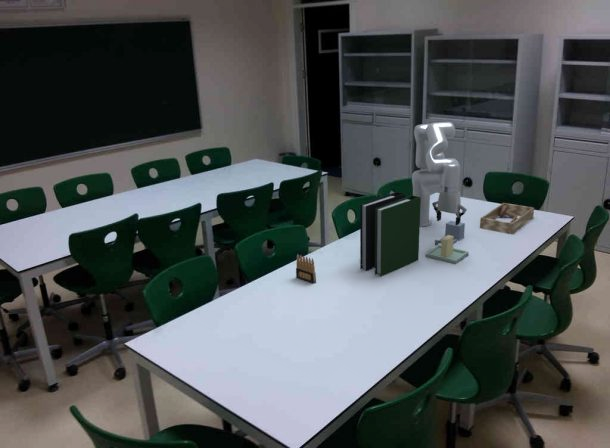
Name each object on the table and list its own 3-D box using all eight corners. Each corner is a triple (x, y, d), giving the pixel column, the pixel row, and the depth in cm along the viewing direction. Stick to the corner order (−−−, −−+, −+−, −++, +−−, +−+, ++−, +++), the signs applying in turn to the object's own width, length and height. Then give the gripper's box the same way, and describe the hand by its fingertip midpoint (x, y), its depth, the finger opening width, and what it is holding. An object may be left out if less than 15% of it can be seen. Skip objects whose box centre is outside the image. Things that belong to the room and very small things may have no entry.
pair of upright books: (382, 277, 244) (383, 210, 234) (358, 268, 255) (357, 204, 244) (418, 260, 261) (420, 197, 251) (394, 252, 272) (395, 191, 261)
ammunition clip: (316, 282, 242) (315, 258, 238) (313, 284, 240) (312, 259, 236) (298, 276, 248) (297, 252, 245) (296, 277, 247) (294, 253, 243)
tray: (425, 256, 265) (425, 253, 264) (438, 248, 275) (438, 244, 274) (455, 264, 255) (456, 260, 254) (468, 254, 265) (468, 251, 264)
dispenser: (434, 244, 279) (434, 230, 277) (450, 234, 293) (450, 220, 290) (448, 247, 274) (449, 233, 272) (463, 237, 288) (464, 223, 285)
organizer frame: (479, 228, 300) (480, 217, 298) (502, 212, 325) (503, 202, 323) (512, 234, 289) (513, 223, 287) (533, 217, 314) (534, 207, 312)
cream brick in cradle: (440, 256, 263) (441, 239, 260) (447, 251, 268) (448, 234, 265) (446, 257, 261) (447, 240, 258) (452, 253, 266) (453, 236, 263)
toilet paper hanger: (504, 235, 298) (509, 224, 294) (488, 228, 302) (493, 217, 298) (515, 220, 317) (520, 210, 314) (501, 214, 321) (506, 203, 317)
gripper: (430, 187, 256) (428, 220, 262) (464, 193, 246) (461, 228, 252) (437, 183, 261) (435, 216, 268) (471, 189, 251) (468, 223, 257)
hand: (448, 222), depth 260 cm, fingers open, 9 cm apart
